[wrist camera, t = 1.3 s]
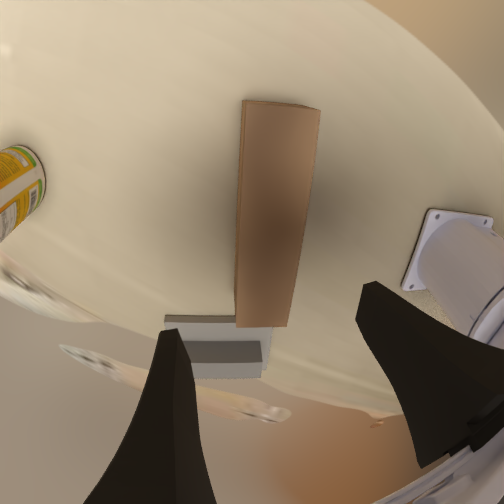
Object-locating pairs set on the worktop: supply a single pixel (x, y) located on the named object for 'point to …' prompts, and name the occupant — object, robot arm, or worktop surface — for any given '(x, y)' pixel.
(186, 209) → the worktop surface
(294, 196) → the beam
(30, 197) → the supplement bottle
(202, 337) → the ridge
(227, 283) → the worktop surface
